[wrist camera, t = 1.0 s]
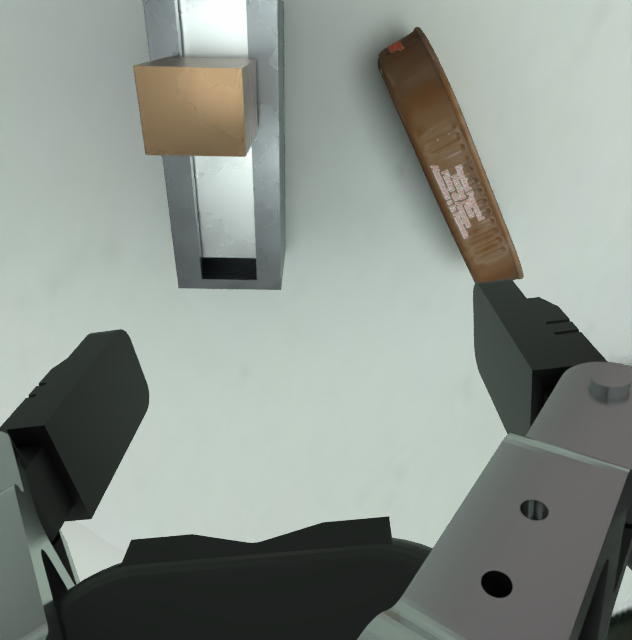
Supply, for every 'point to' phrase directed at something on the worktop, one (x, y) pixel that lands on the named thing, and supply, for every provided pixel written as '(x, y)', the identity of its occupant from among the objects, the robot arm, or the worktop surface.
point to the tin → (449, 157)
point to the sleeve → (266, 158)
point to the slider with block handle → (208, 119)
